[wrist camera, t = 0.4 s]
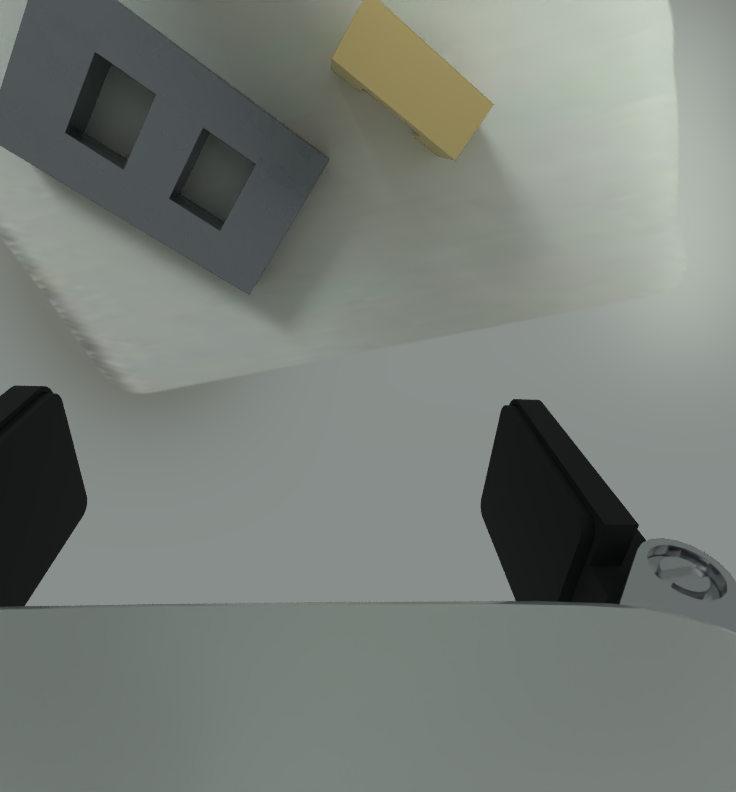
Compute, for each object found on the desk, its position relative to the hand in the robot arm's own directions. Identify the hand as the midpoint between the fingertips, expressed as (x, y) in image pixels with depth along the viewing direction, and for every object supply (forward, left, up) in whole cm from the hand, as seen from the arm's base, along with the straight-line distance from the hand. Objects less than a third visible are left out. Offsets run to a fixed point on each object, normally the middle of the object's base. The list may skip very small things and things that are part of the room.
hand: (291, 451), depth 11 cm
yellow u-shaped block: (0, +11, -34) cm, 35 cm away
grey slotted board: (-12, -2, -34) cm, 36 cm away
